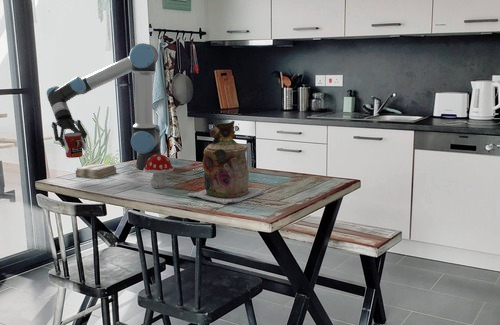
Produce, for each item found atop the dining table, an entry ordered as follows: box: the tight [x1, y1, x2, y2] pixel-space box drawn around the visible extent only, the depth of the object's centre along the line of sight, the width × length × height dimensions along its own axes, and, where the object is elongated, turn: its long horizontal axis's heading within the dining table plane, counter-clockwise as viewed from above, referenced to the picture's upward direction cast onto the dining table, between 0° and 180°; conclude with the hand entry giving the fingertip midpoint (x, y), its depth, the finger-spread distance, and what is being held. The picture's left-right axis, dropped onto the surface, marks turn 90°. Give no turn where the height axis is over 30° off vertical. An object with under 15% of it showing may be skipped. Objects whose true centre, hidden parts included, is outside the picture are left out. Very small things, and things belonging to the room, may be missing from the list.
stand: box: [75, 163, 117, 179], centre depth 271 cm, size 14×14×4 cm
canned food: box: [63, 132, 83, 159], centre depth 255 cm, size 8×8×11 cm
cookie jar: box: [187, 120, 266, 205], centre depth 223 cm, size 25×25×32 cm
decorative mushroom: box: [143, 153, 175, 189], centre depth 242 cm, size 14×14×15 cm
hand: (76, 149), depth 253 cm, fingers closed on canned food, 8 cm apart
